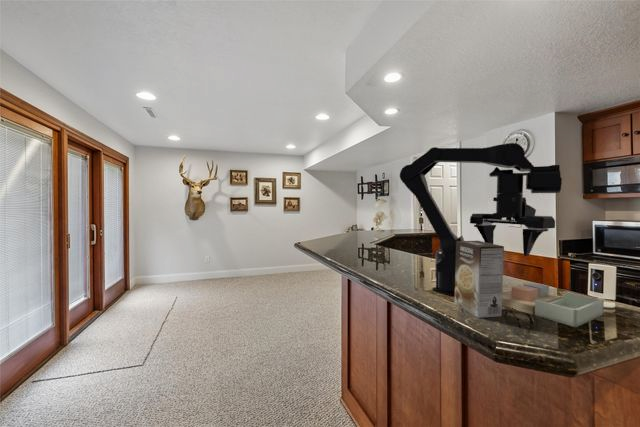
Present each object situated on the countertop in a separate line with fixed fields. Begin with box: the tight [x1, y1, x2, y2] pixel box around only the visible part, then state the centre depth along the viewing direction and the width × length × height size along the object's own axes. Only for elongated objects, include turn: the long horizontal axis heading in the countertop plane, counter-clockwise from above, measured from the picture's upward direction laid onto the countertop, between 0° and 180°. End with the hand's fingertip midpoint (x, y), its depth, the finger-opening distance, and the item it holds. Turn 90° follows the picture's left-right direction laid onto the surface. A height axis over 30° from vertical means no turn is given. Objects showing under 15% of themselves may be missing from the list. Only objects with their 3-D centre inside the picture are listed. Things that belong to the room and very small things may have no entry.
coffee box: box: [453, 240, 505, 319], centre depth 71 cm, size 9×6×16 cm
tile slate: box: [522, 281, 550, 298], centre depth 77 cm, size 4×4×2 cm
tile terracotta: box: [511, 284, 538, 302], centre depth 74 cm, size 4×4×2 cm
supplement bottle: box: [434, 242, 444, 278], centre depth 100 cm, size 7×7×12 cm
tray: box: [534, 290, 605, 328], centre depth 68 cm, size 8×14×4 cm, turn 120°
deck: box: [502, 290, 563, 315], centre depth 76 cm, size 9×14×2 cm, turn 120°
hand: (507, 253), depth 78 cm, fingers open, 9 cm apart
